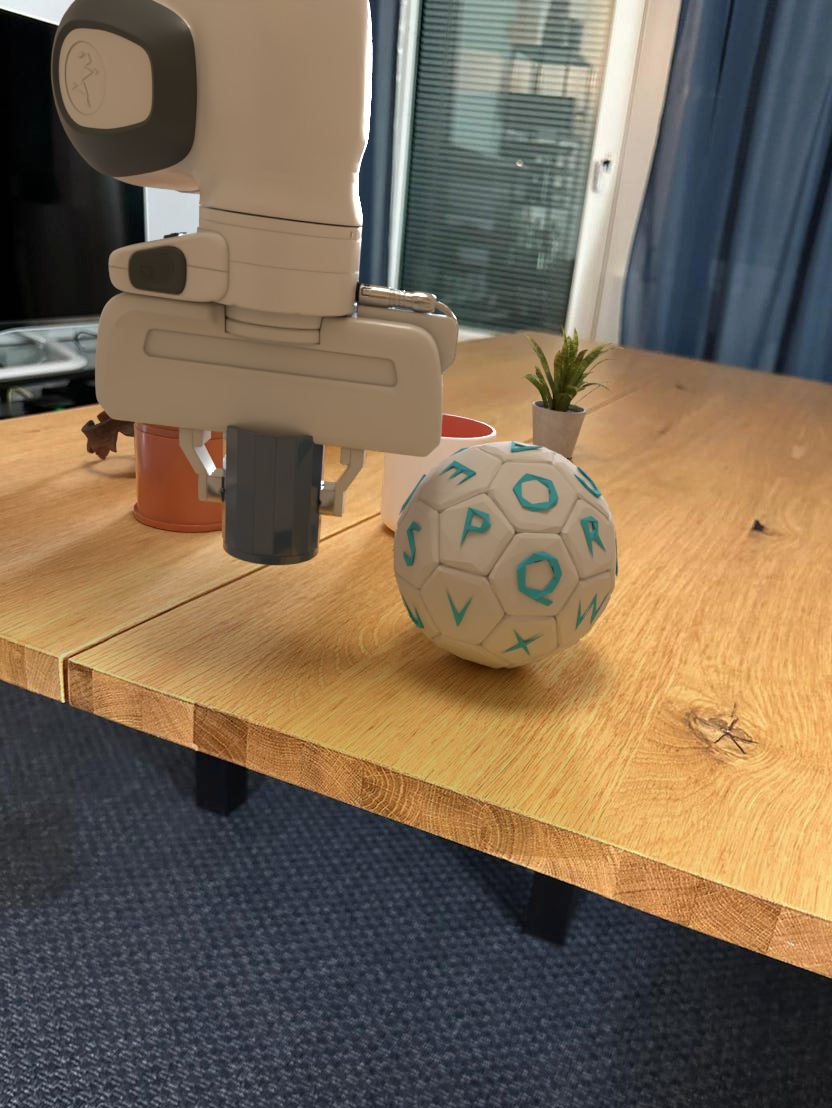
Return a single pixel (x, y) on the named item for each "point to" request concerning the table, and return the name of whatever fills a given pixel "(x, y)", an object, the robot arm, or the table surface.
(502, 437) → the table surface
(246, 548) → the slate cup
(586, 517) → the puzzle ball
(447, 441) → the cup
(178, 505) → the orange stepped cylinder
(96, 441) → the dark brown jagged part
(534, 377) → the house plant
